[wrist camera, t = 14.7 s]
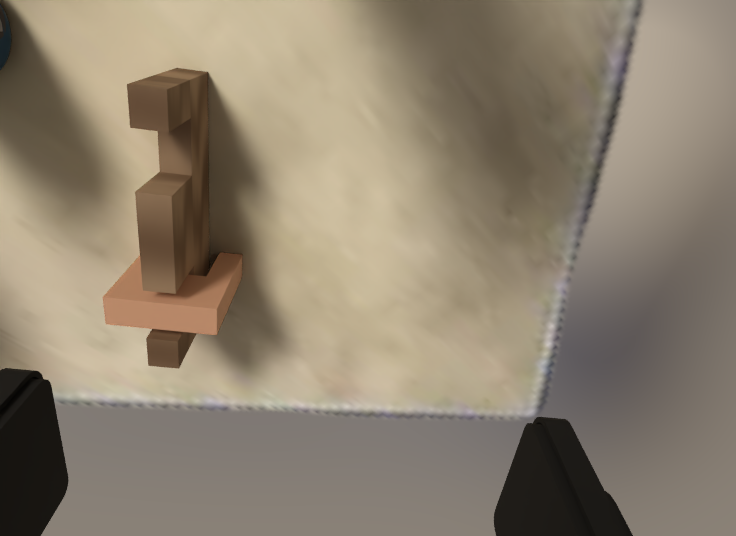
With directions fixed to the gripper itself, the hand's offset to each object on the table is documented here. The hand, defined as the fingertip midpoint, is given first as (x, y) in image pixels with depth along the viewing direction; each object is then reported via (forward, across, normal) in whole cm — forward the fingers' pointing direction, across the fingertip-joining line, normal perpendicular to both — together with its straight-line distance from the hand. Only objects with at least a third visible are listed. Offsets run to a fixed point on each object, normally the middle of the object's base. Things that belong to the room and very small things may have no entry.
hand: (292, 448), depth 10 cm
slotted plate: (+28, +10, +11) cm, 32 cm away
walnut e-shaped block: (+28, +10, +6) cm, 31 cm away
